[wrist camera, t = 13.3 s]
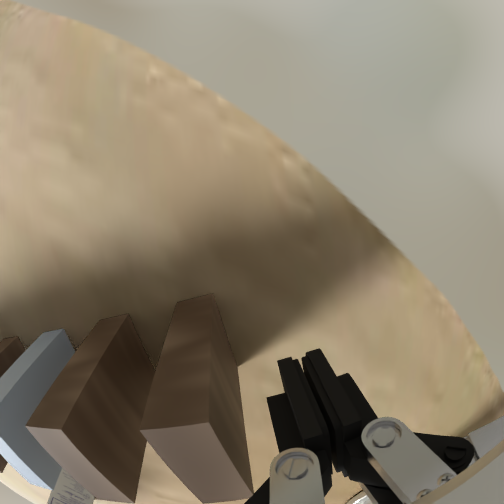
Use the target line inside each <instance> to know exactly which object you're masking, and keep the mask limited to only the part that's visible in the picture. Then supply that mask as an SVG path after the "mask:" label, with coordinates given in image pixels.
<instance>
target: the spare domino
mask: <svg viewBox="0 0 504 504" xmlns="http://www.w3.org/2000/svg"><path fill="white" fill-rule="evenodd" d="M74 353H75V350H74V348H73V346H72V344H71V342H70V340H69V338H68V336H67V334H66V332H65V330H64V329H59V330H54V331H48V332H43V333H42V334H41V335H40V336H39V337H38V338H37V339H36V340H35V341H34V342H33V343H32V344H31V346H30V347H29V348H28V349H27V350H26V351H25V352H24V353H23V354H22V355H21V356H20V357H19V358H18V359H17V360H16V361H15V362H14V363H13V365H12V366H11V367H10V368H9V369H8V370H7V371H6V372H5V373H4V374H3V376H2V377H1V378H0V454H1V455H2V456H3V457H4V459H5V460H6V461H7V462H8V463H9V464H10V465H11V466H12V467H13V468H14V469H15V470H16V471H17V472H18V473H19V474H20V475H21V476H22V477H23V478H24V479H26V480H27V481H28V482H29V483H30V484H33V485H36V486H39V487H43V488H46V489H50V490H54V488H55V485H56V482H57V480H58V477H59V475H60V472H61V470H62V467H61V466H60V465H59V464H58V463H57V462H56V461H55V460H54V459H53V458H52V457H51V455H50V454H49V453H48V452H47V451H46V450H45V449H44V448H43V447H42V446H41V445H40V443H39V442H38V441H37V440H36V439H35V438H34V436H33V435H32V434H31V433H30V432H29V430H28V429H27V428H26V427H25V425H26V423H27V422H28V420H29V419H30V417H31V415H32V414H33V412H34V411H35V409H36V408H37V406H38V405H39V403H40V402H41V400H42V399H43V397H44V396H45V394H46V393H47V391H48V390H49V388H50V387H51V385H52V384H53V382H54V381H55V380H56V378H57V377H58V375H59V374H60V372H61V371H62V370H63V368H64V367H65V366H66V364H67V363H68V361H69V360H70V359H71V357H72V356H73V355H74Z"/></svg>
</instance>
